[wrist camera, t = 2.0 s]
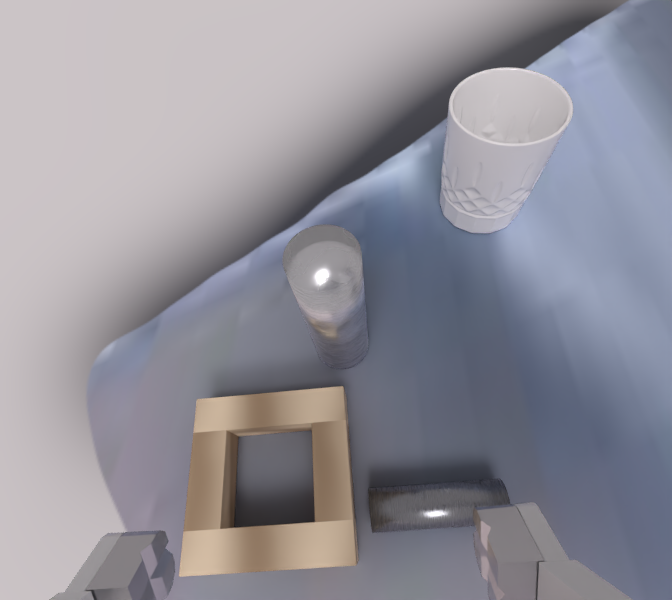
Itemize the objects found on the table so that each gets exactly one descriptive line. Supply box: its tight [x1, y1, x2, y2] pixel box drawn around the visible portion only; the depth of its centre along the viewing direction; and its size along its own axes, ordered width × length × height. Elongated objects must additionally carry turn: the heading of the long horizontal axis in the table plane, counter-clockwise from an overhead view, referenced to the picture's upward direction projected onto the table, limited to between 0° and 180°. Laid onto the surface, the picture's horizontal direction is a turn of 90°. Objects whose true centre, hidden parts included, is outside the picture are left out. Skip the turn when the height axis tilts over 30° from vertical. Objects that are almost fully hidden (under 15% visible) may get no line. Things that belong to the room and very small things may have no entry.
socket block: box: [179, 386, 359, 577], centre depth 26 cm, size 10×10×2 cm
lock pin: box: [368, 479, 510, 533], centre depth 24 cm, size 8×2×2 cm
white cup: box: [439, 68, 573, 233], centre depth 31 cm, size 8×8×10 cm
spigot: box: [283, 225, 368, 369], centre depth 26 cm, size 4×4×12 cm
